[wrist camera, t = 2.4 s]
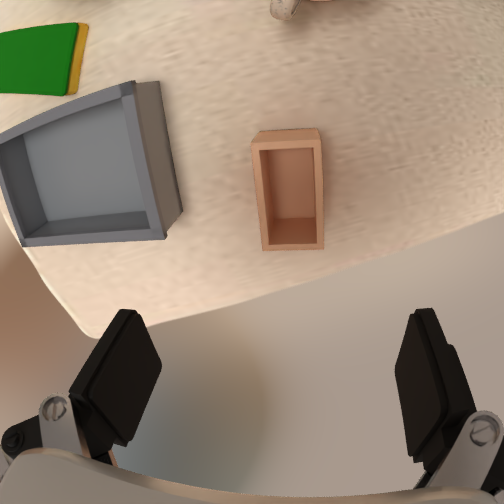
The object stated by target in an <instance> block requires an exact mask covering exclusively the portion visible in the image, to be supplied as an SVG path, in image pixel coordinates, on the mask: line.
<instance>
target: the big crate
mask: <svg viewBox="0 0 504 504" xmlns="http://www.w3.org/2000/svg"><path fill="white" fill-rule="evenodd" d="M0 186H1V189H2V193H3V196H4V199H5V202H6V205H7V208H8V211H9V214H10V217H11V219H12V222H13V225H14V227H15V230H16V233H17V235H18V238H19V240H20V243H21V245H22V247H36V246H53V245H70V244H88V243H107V242H127V241H148V240H165V239H166V238H167V231H168V229H169V228H170V227H171V225H172V224H173V223H174V222H175V220H176V219H177V218H178V217H179V215H180V214H181V213H182V212H183V209H182V204H181V199H180V195H179V190H178V185H177V180H176V175H175V170H174V165H173V160H172V154H171V149H170V144H169V138H168V132H167V127H166V121H165V115H164V109H163V103H162V97H161V91H160V84H159V81H155V82H144V83H136V82H135V80H134V81H129V82H125V83H122V84H119V85H115V86H112V87H109V88H106V89H103V90H100V91H97V92H94V93H91V94H89V95H86V96H83V97H80V98H78V99H75V100H73V101H70V102H67V103H65V104H62V105H60V106H58V107H55V108H53V109H51V110H48V111H46V112H44V113H41V114H39V115H37V116H35V117H33V118H30V119H28V120H26V121H24V122H22V123H20V124H18V125H16V126H14V127H12V128H10V129H8V130H6V131H4V132H3V133H1V134H0Z"/></svg>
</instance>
